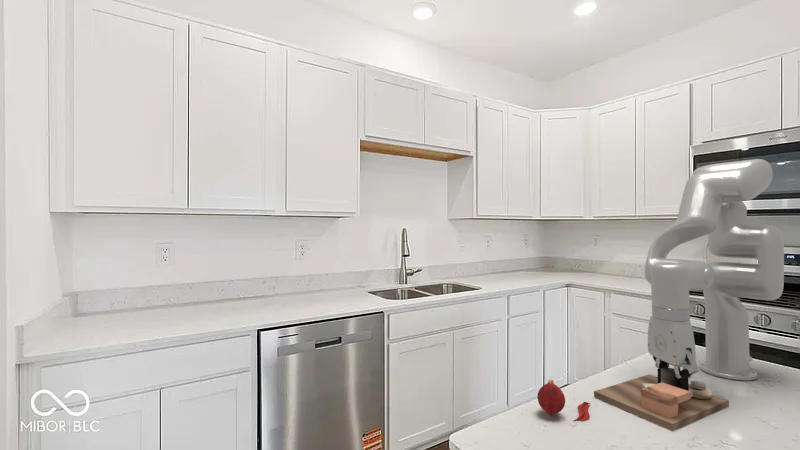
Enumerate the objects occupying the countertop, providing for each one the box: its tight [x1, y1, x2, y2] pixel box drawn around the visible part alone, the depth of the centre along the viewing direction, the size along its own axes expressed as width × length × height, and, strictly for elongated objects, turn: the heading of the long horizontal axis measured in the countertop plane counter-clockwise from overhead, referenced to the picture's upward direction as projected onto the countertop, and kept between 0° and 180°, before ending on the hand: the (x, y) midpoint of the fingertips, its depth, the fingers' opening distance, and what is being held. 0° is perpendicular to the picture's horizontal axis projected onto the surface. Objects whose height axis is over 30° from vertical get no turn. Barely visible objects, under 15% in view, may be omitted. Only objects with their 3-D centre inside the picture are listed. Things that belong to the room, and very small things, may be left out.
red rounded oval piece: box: [537, 378, 566, 417], centre depth 86 cm, size 6×6×8 cm
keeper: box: [641, 382, 691, 418], centre depth 86 cm, size 8×6×4 cm
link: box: [641, 367, 713, 399], centre depth 92 cm, size 14×5×6 cm, turn 81°
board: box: [593, 373, 730, 432], centre depth 92 cm, size 23×18×5 cm
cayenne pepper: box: [572, 401, 591, 422], centre depth 87 cm, size 12×5×2 cm, turn 128°
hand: (672, 388), depth 92 cm, fingers open, 4 cm apart
